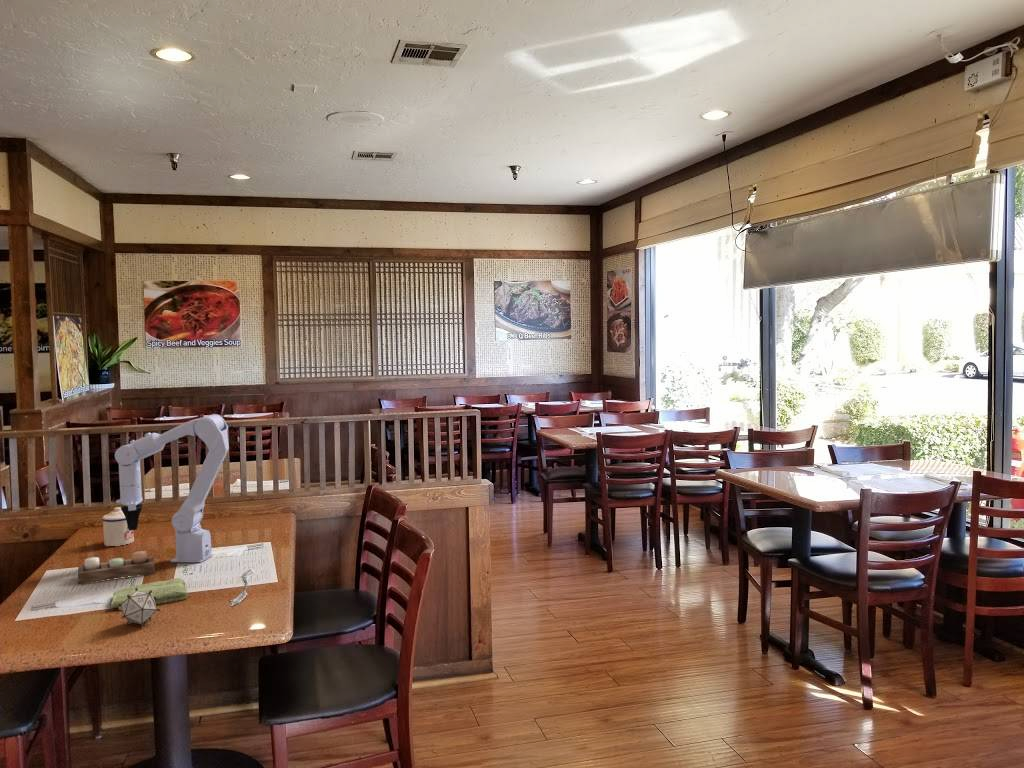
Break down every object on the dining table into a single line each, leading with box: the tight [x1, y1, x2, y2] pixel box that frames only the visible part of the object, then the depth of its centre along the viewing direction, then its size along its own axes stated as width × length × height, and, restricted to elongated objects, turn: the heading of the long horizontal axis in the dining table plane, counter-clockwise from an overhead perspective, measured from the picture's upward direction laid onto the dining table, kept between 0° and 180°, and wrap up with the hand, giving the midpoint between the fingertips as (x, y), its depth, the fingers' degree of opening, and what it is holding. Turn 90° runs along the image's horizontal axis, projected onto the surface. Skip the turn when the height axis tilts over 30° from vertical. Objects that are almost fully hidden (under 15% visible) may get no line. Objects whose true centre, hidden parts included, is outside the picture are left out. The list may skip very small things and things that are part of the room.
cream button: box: [84, 556, 100, 570], centre depth 219 cm, size 4×4×2 cm
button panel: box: [77, 555, 156, 585], centre depth 222 cm, size 19×8×3 cm, turn 117°
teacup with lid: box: [101, 506, 135, 547], centre depth 256 cm, size 12×9×12 cm
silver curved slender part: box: [230, 568, 255, 607], centre depth 211 cm, size 32×1×5 cm
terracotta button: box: [132, 550, 148, 563], centre depth 225 cm, size 4×4×2 cm
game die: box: [117, 588, 162, 627], centre depth 185 cm, size 9×8×10 cm
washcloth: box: [110, 577, 189, 611], centre depth 203 cm, size 13×18×3 cm
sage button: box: [108, 557, 124, 568], centre depth 222 cm, size 4×4×2 cm
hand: (132, 529), depth 235 cm, fingers closed
